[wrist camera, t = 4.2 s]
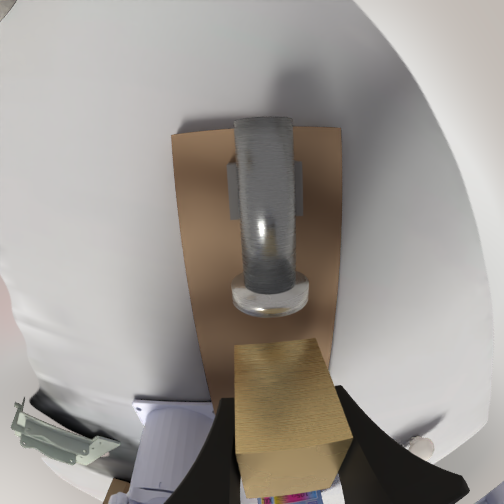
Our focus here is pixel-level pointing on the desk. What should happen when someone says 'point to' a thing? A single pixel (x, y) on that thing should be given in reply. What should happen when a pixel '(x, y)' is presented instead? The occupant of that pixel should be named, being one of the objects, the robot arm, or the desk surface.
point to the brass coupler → (287, 419)
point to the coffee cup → (5, 7)
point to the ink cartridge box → (294, 498)
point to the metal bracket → (58, 440)
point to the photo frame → (116, 489)
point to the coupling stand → (259, 237)
